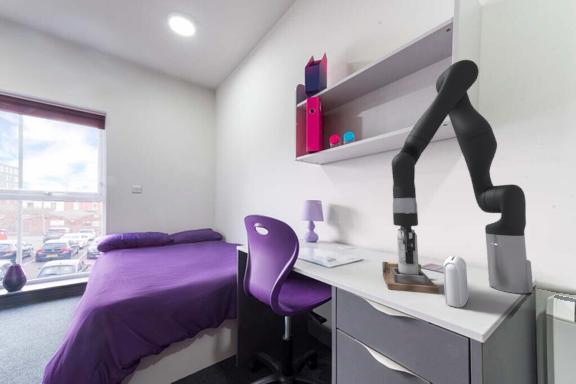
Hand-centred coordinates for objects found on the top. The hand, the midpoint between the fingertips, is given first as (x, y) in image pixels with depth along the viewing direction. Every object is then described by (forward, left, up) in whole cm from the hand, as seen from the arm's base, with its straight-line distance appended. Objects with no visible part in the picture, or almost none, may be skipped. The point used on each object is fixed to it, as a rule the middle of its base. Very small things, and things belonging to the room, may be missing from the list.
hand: (407, 261), depth 76 cm
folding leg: (+1, -8, -8) cm, 11 cm away
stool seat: (0, 0, -8) cm, 8 cm away
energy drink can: (0, 0, -5) cm, 5 cm away
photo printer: (-10, +11, -8) cm, 17 cm away
